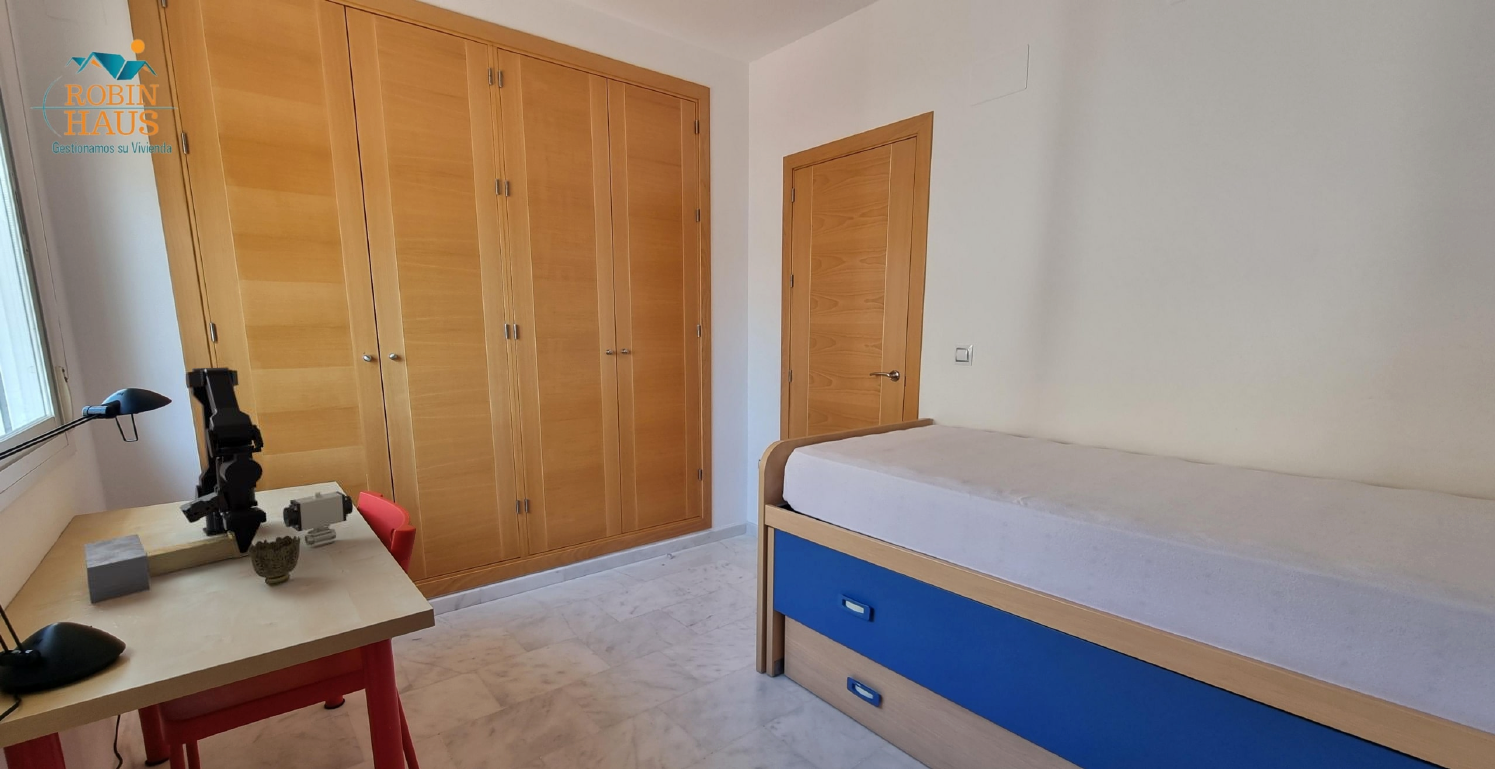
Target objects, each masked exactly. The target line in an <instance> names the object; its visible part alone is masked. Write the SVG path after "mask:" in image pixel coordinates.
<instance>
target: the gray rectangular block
mask: <svg viewBox="0 0 1495 769" xmlns="http://www.w3.org/2000/svg"><path fill="white" fill-rule="evenodd" d="M83 548H84V550H83V551H84V557H85V558H84V559H85V566H86V568H85V569H86V576H87V583H88V584H87V585H89V586H88V591H89V592H88V593H89V599H90V600H89V601H90V604H91V605H92V604H96V603H99V602H103V601H104V602H105V601H108V600H112V599H115V598H116V599H117V598H121V597H124V596H128V595H131V594H136V593H141V592H145V591H149V590H151V589H150V588H151V587H150V578H149V577H150V576H149V573H148V565H147V555H146V551H145V548H144V546H143V543H142V541H141V539H140V537H139V535H138V534H137V533H136V534H131V535H130V534H129V535H127V536H126V535H125V536H120V537H115V538H111V539H105V540H104V539H103V540H99V541H95V542H90V543H89V542H88V543H84V544H83Z"/></svg>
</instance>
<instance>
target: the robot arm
mask: <svg viewBox="0 0 1495 769" xmlns="http://www.w3.org/2000/svg"><path fill="white" fill-rule="evenodd" d="M185 384H186V388H187V389H190V394H191V396H192V397H193V399H195V401H197V402H198V403H199V404H200V405H201V415H202V416H201V417H202V425H203V426H202V427H203V438H204V449H205V459H206V462H205V463H206V466H205V467H204V469H202V472H201V473H200V474H199V476H198V484H196V485H195V489H194V490H195V492H194V500H191V501H189V502H186V503H184V504H182V505H180V506H179V510H181V512H182V514H183V515H184V516H185V519H187V521H188V522H189V524H190V523H191V524H192V523H195V522H198V521H200V520H201V519H202V518H205V526H206V527H202V531H203V533H204V534H205V535H206V536H211V535H212V536H213V535H217V534H221V533H228V531H232V532H233V534H234V537H235V540H236V543H237V545H238V548H239V551H240V553H245V552H247V551H248V549H249V547H250V545H251V543H252V544H253V541H254V538H255V536H256V534H257V532H258V530H259V528H260V526H261V525H262V524H264V523H266V522H268V521H267V513H266V511H265V510H263V509H262V508H260V507H258V506H259V502H258V500H256V490H255V488H257V482H258V481H260V479H261V478H262V476H263V473H264V472H263V467H262V465H261V464H260V463H259V462H258V461H257V460H255V459H254V457H253V456H254V455H253V454H255V453H262V452H263V450H262V448H264V440H263V437H262V432H261V430H260V428H259V427H258V426H257V425H256V424H253V421H252V420H251V416H250V414H248V413H246V412H244V411H242V410H241V409H240V407H239V402H238V399H237V396H236V392H235V388H234V387H236V386H239V375H238V370H235V369H234V370H233V369H229V367H227V366H226V367H197V368H196V367H194V368H192V370H191V371H188V372H186V373H185Z"/></svg>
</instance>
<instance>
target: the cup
mask: <svg viewBox="0 0 1495 769" xmlns="http://www.w3.org/2000/svg"><path fill="white" fill-rule="evenodd" d="M300 546H301V538H300V536H298V537H297V536H296V535H294V536H293V537H292V536H290V535H288V534H287V535H285V536H283V537H281V536H277V537H276V538H275V540H274V541H269V542H268V540H267V539H264V540H263V541H261V540H257V541H256V543H255V544H253V543H252V545H251V548H250V547H249V552H250V555H249V556H250V561H251V564H252V568H253V571H254V572H255V574H257V576H259V577H260V578H263V579H264V583H265V584H266V585H268V586H278V585H281V584H284V583H287V581H289V579H290V578H291V575H290V573H291V572H292V571H293V570H295V569H296V566H297V565H298V564H299V563H298V562H299V557H300V556H299V555H300V548H301V547H300Z"/></svg>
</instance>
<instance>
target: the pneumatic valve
mask: <svg viewBox="0 0 1495 769" xmlns="http://www.w3.org/2000/svg"><path fill="white" fill-rule="evenodd" d="M289 502H290V504H289V505H288V506H286V507H284V508H283V511H282V518H283V523H284V525H285V527H286V528H290V527H291V528H292V529H294V530H295V531H297V532H304V531H307V532H306V534H305V536H304V542H305V544H306V546H311V547H312V548H318V547H322V545H323V546H327V545H331V544H333V543H334V540H335V539H336V538H337V531H336V528H330V525H334V524H339V523H342V522H343V523H344V522H347V517H348V516H349V515H351V514H352V513H353V509H354V505H353V500H352V497H351V496H350V495H345V493H342V492H340V491H333V492H327V493H322V494H321V491H318V492H314V495H313V496H312V495H310V496H307V497H301V498H296V499H291V500H290V501H289ZM330 543H331V544H330ZM326 544H327V545H326Z"/></svg>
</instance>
